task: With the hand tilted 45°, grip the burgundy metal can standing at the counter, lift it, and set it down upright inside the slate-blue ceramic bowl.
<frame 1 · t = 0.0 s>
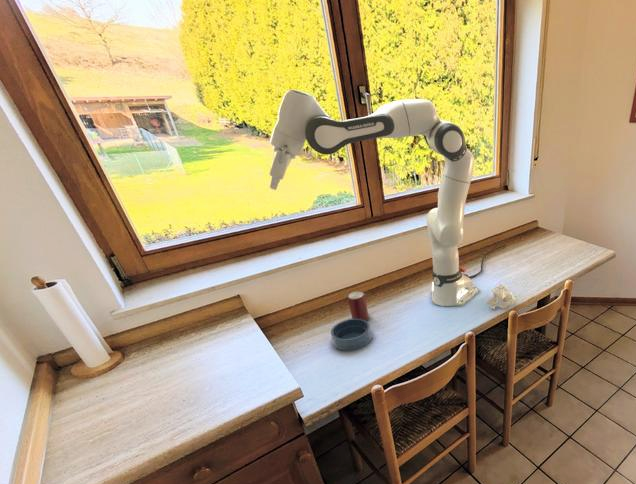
hand: (274, 185, 116), 55 cm above the countertop, tool tilted 30°, fingers open, 8 cm apart
bowl: (353, 340, 134), on the countertop
can: (360, 319, 147), on the countertop
white irregular lump: (502, 305, 157), on the countertop
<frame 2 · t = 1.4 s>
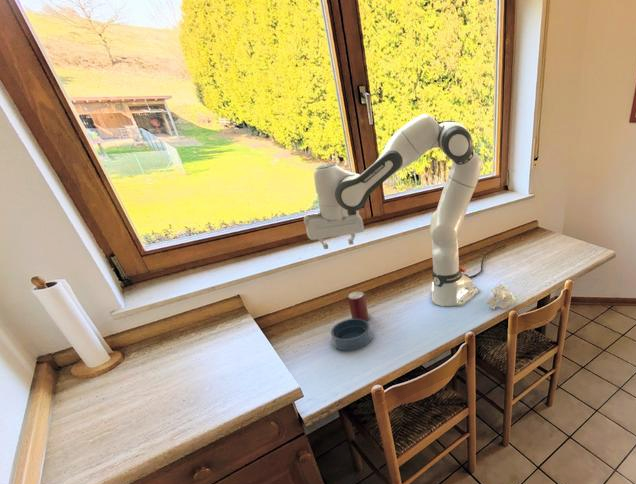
hand: (338, 246, 138), 29 cm above the countertop, tool pointing down, fingers open, 8 cm apart
nothing on the countertop moved.
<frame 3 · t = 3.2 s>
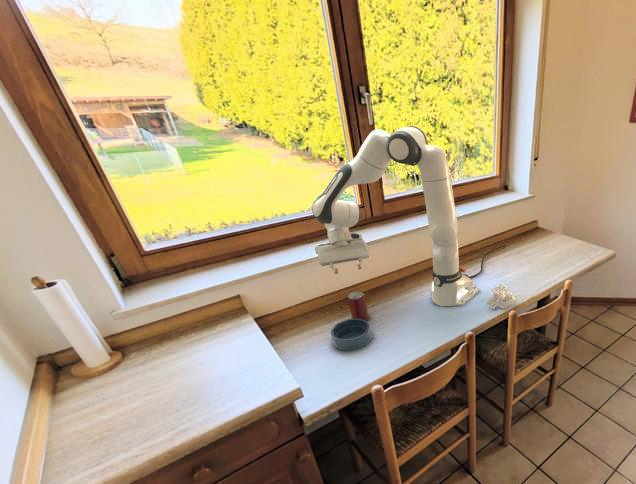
hand: (348, 271, 148), 16 cm above the countertop, tool tilted 45°, fingers open, 8 cm apart
nothing on the countertop moved.
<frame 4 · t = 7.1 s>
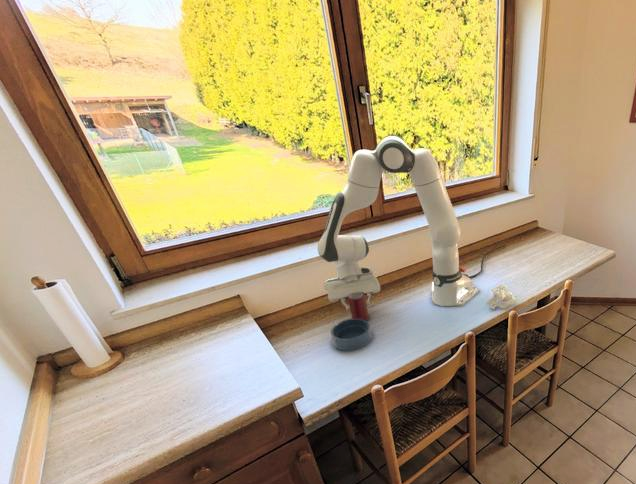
hand: (358, 307, 143), 6 cm above the countertop, tool tilted 45°, fingers closed on can, 6 cm apart
can: (360, 319, 147), on the countertop, touching gripper
everything else where it was.
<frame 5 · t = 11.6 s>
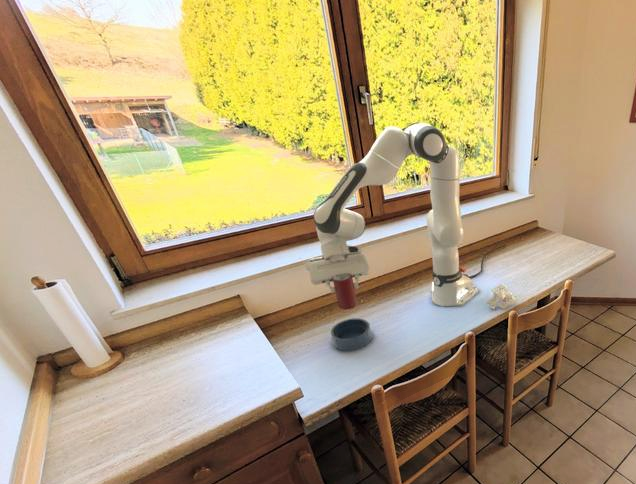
hand: (345, 290, 127), 20 cm above the countertop, tool tilted 45°, fingers closed on can, 6 cm apart
can: (348, 304, 130), point 14 cm above the countertop, touching gripper
everything else where it was.
when the fingers open (7 cm above the countertop, at t = 16.1 s): can stays where it is, resting on bowl.
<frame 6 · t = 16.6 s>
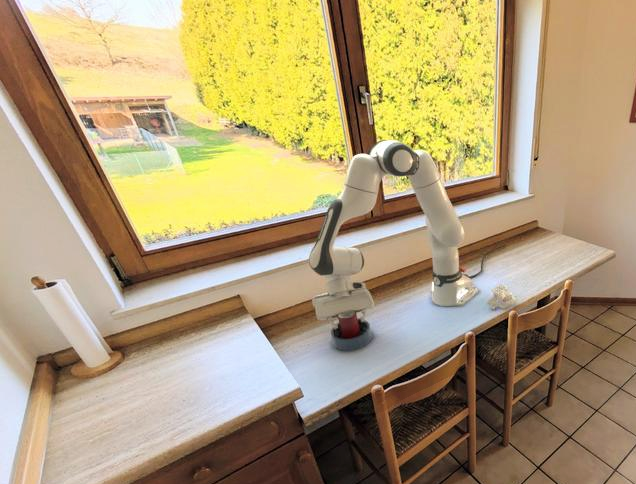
hand: (350, 325, 130), 7 cm above the countertop, tool tilted 45°, fingers open, 8 cm apart
can: (352, 339, 134), point 1 cm above the countertop, touching bowl
everything else where it was.
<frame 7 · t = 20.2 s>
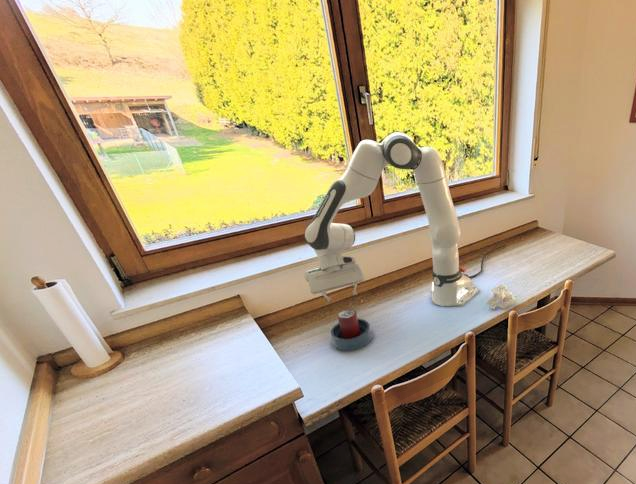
hand: (342, 298, 138), 12 cm above the countertop, tool tilted 40°, fingers open, 8 cm apart
nothing on the countertop moved.
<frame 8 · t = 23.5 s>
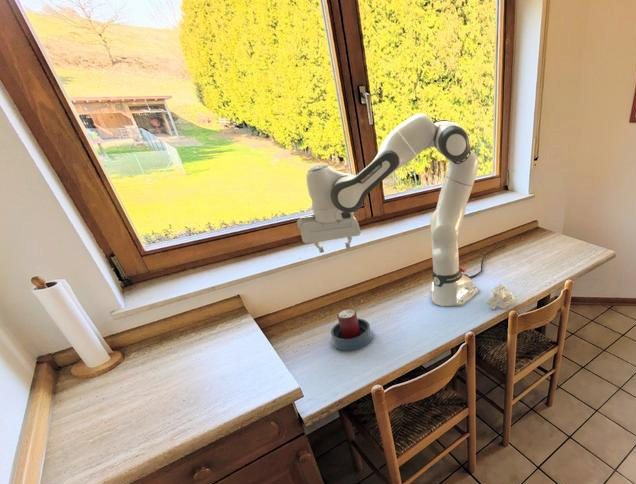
hand: (335, 249, 135), 29 cm above the countertop, tool pointing down, fingers open, 8 cm apart
nothing on the countertop moved.
at the end: can 0.1 cm off-centre in the bowl, point 0.6 cm above the bowl's base; can tilted 0°; the gripper is holding nothing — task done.
